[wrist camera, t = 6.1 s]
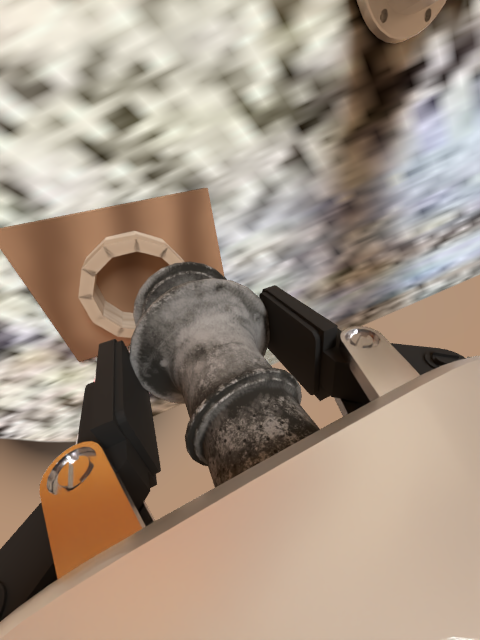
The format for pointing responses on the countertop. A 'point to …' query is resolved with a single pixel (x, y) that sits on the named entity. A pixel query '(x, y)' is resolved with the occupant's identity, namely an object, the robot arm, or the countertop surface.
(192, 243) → the board
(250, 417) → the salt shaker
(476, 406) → the robot arm
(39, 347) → the countertop surface
